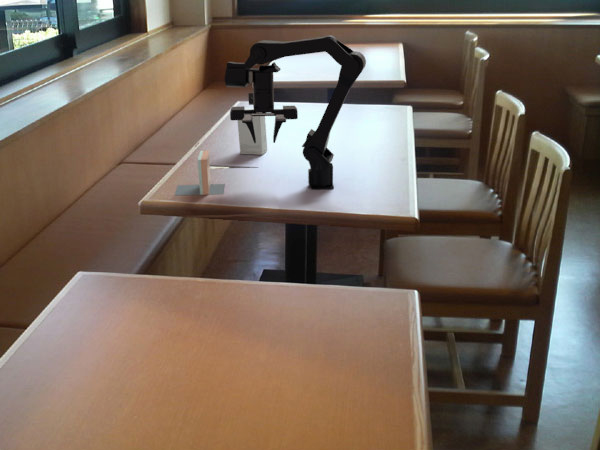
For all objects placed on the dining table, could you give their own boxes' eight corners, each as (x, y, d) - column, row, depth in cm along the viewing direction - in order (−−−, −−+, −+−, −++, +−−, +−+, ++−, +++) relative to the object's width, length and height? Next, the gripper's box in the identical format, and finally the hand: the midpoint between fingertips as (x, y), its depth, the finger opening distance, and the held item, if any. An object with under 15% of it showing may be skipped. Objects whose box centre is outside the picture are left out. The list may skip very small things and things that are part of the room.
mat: (225, 185, 193) (225, 183, 192) (223, 196, 184) (223, 194, 184) (178, 187, 192) (177, 185, 192) (174, 197, 184) (174, 195, 183)
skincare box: (267, 151, 227) (266, 107, 222) (262, 155, 222) (261, 111, 216) (244, 149, 229) (242, 106, 224) (238, 154, 224) (236, 110, 218)
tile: (210, 184, 192) (208, 150, 188) (208, 194, 184) (206, 159, 180) (202, 184, 192) (200, 150, 188) (200, 194, 184) (197, 159, 180)
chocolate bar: (251, 175, 200) (193, 173, 203) (251, 178, 200) (194, 176, 203) (258, 167, 208) (202, 164, 211) (258, 170, 208) (202, 167, 211)
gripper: (295, 82, 193) (295, 135, 199) (230, 83, 192) (232, 136, 198) (297, 89, 182) (297, 144, 188) (229, 90, 181) (231, 146, 187)
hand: (264, 142), depth 191 cm, fingers open, 5 cm apart
